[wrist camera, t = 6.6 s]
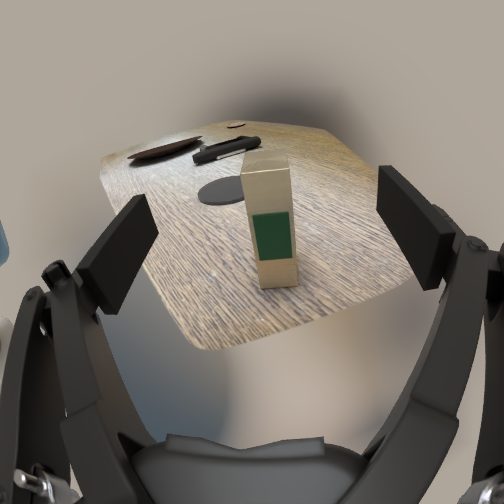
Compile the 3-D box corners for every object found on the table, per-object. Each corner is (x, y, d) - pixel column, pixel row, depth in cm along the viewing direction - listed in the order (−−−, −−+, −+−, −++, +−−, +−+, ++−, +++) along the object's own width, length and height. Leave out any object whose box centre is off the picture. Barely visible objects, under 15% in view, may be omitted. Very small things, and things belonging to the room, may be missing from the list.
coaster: (185, 201, 51) (185, 198, 51) (223, 176, 58) (223, 173, 58) (236, 209, 45) (235, 206, 44) (271, 180, 52) (271, 178, 52)
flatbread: (233, 128, 103) (232, 126, 103) (223, 127, 108) (223, 125, 108) (249, 123, 107) (248, 121, 106) (239, 123, 112) (238, 121, 111)
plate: (203, 135, 102) (201, 126, 100) (204, 151, 79) (201, 140, 77) (138, 153, 100) (136, 145, 98) (120, 175, 78) (117, 164, 76)
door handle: (180, 150, 77) (195, 155, 65) (239, 132, 83) (264, 136, 71) (183, 159, 79) (198, 167, 66) (241, 142, 85) (265, 147, 72)
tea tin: (261, 254, 34) (244, 152, 26) (294, 252, 34) (284, 148, 26) (260, 290, 29) (239, 174, 21) (298, 287, 29) (289, 168, 21)
